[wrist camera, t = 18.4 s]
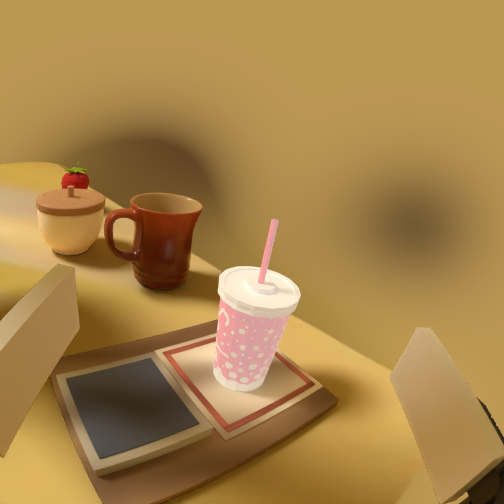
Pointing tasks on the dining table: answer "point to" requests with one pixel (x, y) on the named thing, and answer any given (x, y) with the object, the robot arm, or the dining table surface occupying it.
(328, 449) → the dining table surface
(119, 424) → the stamp board
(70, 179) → the strawberry
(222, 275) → the beverage cup
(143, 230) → the mug
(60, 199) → the lidded jar
